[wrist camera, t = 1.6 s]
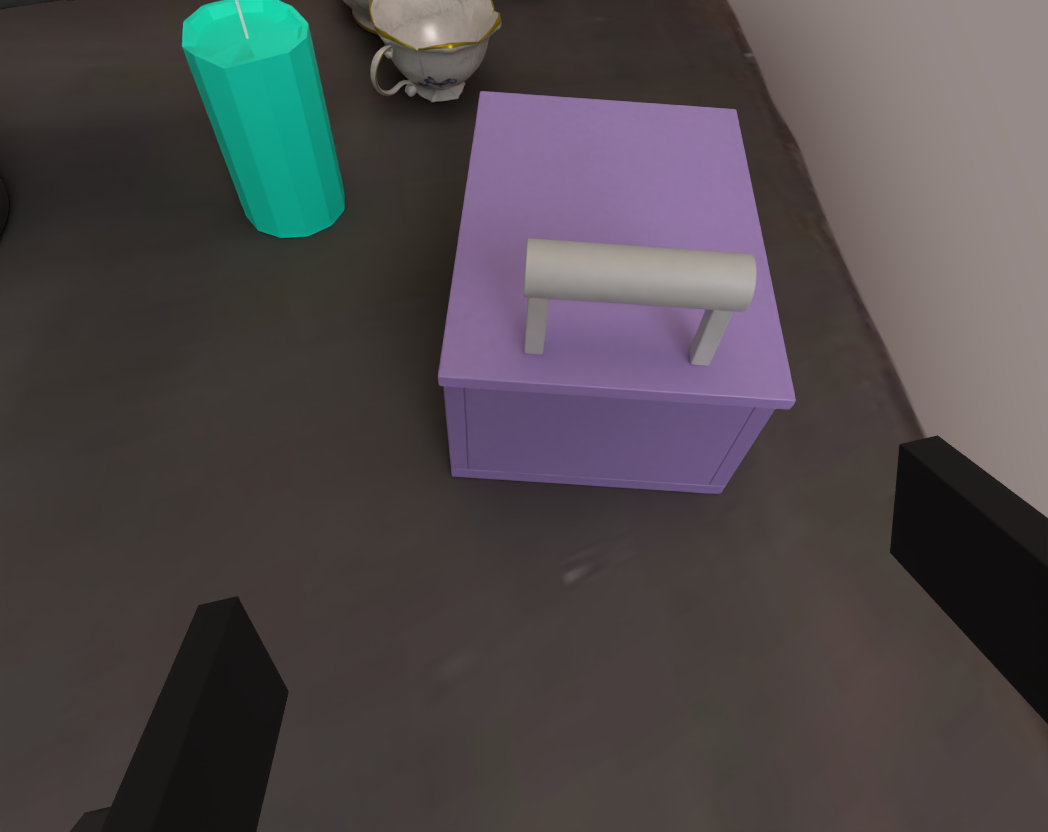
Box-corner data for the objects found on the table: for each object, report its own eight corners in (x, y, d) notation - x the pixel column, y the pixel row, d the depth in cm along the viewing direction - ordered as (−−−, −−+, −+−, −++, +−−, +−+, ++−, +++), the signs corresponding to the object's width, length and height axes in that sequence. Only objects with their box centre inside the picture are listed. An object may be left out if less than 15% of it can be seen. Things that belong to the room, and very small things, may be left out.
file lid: (790, 410, 24) (859, 307, 20) (438, 386, 24) (426, 277, 20) (732, 120, 34) (770, 5, 29) (480, 101, 34) (479, -16, 29)
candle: (263, 167, 43) (195, -44, 33) (357, 178, 43) (317, -31, 33) (230, 232, 40) (143, 20, 30) (331, 244, 39) (278, 35, 29)
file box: (720, 494, 32) (786, 392, 25) (451, 477, 32) (441, 369, 25) (690, 246, 41) (732, 121, 34) (481, 231, 41) (480, 102, 34)
